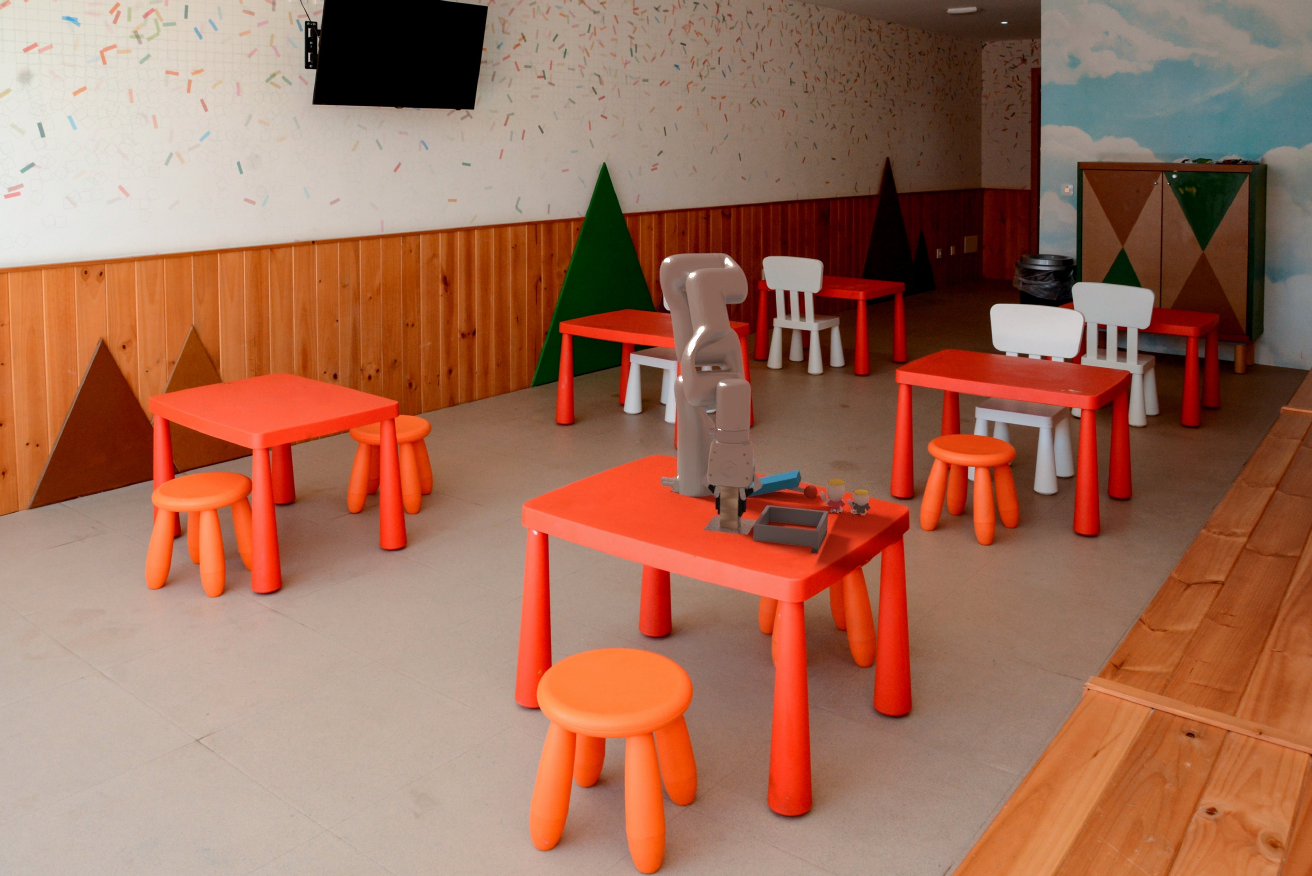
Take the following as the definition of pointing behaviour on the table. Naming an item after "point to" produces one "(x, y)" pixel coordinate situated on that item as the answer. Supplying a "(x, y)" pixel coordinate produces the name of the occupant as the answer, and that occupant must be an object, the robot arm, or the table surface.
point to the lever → (785, 484)
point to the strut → (729, 507)
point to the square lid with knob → (742, 529)
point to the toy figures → (835, 500)
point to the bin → (792, 534)
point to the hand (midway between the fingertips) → (730, 513)
